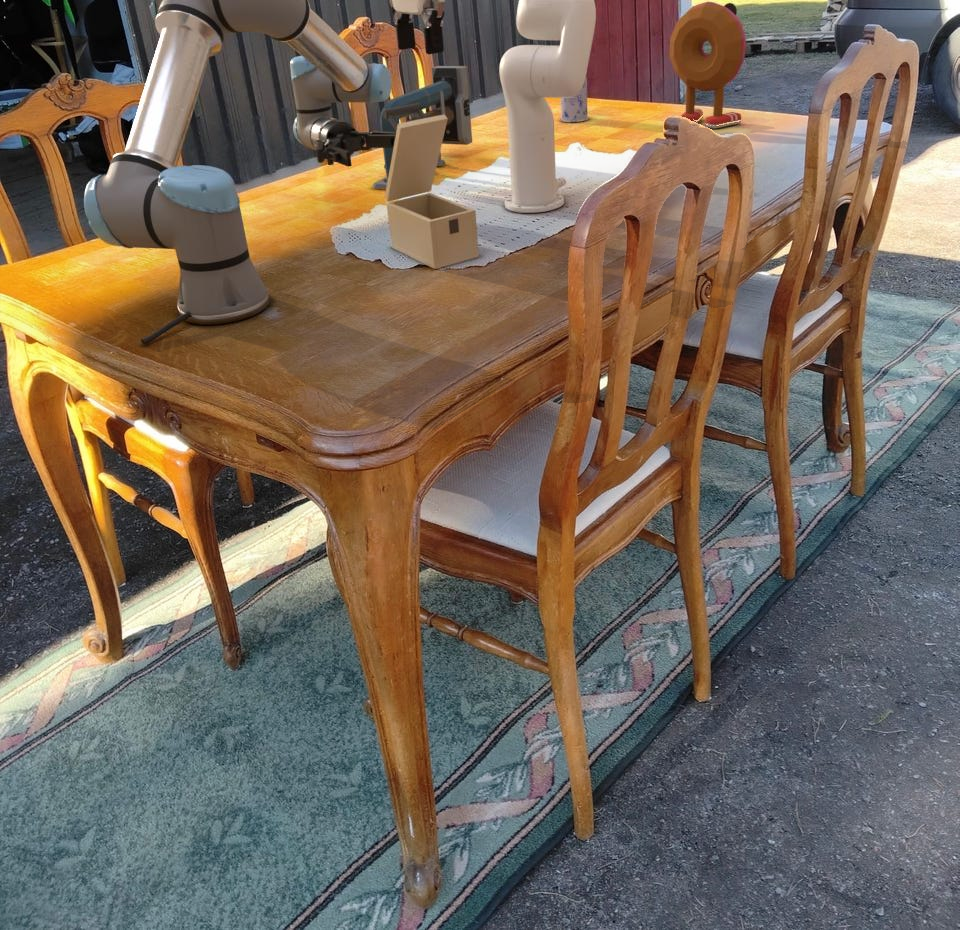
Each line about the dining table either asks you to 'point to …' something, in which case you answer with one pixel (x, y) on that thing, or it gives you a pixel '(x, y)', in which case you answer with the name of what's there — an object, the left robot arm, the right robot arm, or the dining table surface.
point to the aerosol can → (575, 106)
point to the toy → (708, 56)
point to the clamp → (436, 110)
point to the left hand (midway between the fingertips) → (380, 153)
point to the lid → (413, 152)
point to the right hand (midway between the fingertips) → (420, 50)
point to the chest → (433, 230)
